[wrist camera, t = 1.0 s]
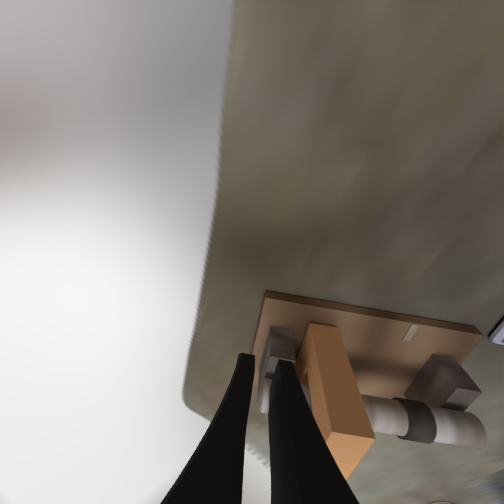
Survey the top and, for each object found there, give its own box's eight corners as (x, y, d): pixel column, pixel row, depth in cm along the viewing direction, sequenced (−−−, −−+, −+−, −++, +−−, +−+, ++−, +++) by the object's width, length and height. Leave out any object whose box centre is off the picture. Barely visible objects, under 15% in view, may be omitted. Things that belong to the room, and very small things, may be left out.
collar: (287, 384, 25) (295, 497, 17) (309, 322, 21) (331, 431, 14) (311, 389, 25) (329, 502, 17) (337, 327, 21) (375, 439, 14)
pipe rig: (245, 378, 27) (238, 451, 21) (265, 290, 21) (263, 355, 15) (413, 406, 27) (455, 487, 21) (475, 326, 22) (556, 404, 16)
